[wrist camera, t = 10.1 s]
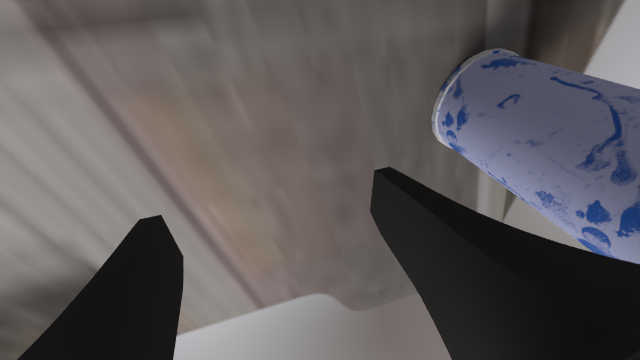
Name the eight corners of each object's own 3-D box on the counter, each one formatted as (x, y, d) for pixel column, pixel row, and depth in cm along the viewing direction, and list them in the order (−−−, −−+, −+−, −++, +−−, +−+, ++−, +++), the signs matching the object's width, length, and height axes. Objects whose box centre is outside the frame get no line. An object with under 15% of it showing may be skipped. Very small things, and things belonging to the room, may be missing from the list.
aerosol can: (523, 111, 24) (1083, 365, 8) (442, 162, 25) (820, 479, 9) (520, 23, 19) (1888, 249, 3) (420, 91, 20) (1157, 518, 4)
